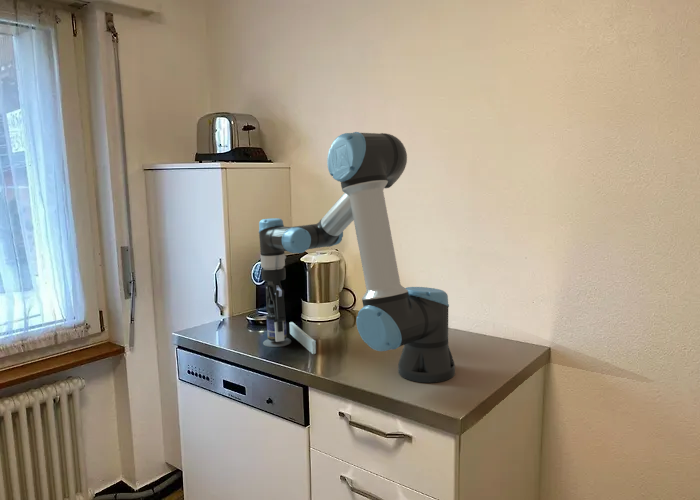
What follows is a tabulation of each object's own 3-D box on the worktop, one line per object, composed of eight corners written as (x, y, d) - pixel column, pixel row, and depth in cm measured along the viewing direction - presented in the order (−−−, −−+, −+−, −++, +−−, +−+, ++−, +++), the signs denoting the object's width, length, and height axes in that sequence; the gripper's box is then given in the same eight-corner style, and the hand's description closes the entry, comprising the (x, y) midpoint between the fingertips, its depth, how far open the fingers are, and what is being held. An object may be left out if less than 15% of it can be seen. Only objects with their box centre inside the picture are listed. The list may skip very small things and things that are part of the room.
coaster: (294, 344, 171) (294, 343, 171) (267, 348, 167) (267, 348, 167) (286, 336, 179) (286, 335, 179) (260, 340, 175) (259, 339, 175)
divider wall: (315, 353, 162) (315, 341, 161) (312, 354, 161) (312, 341, 161) (292, 333, 182) (292, 322, 182) (289, 333, 182) (289, 322, 181)
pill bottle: (283, 342, 169) (281, 308, 168) (264, 341, 171) (263, 307, 169) (289, 336, 175) (287, 303, 174) (271, 335, 177) (269, 302, 175)
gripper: (293, 271, 162) (297, 344, 166) (276, 261, 180) (279, 328, 183) (269, 273, 159) (273, 348, 163) (254, 264, 177) (258, 331, 180)
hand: (277, 337), depth 173 cm, fingers closed on pill bottle, 6 cm apart
